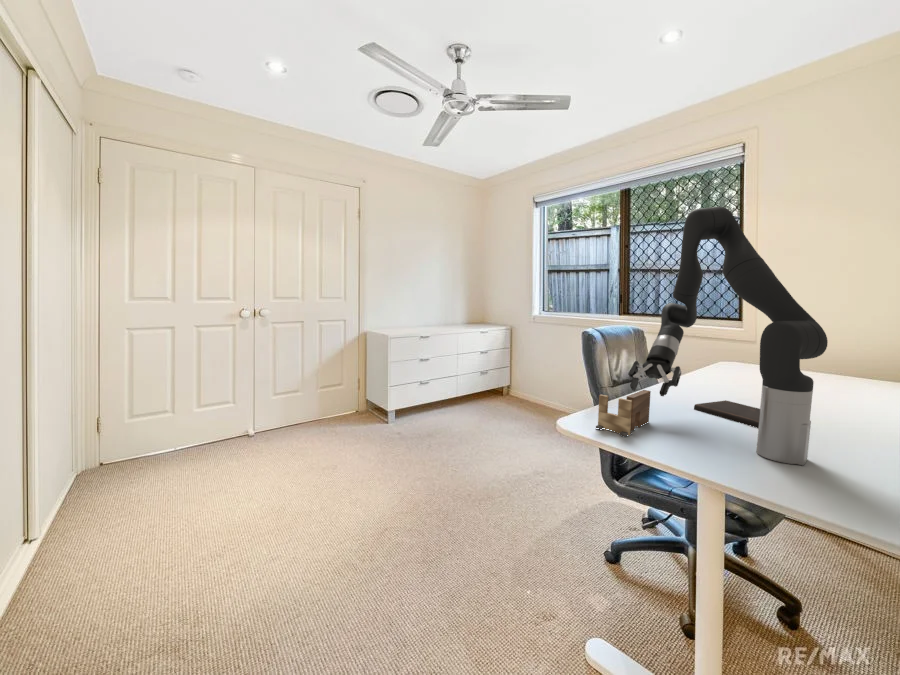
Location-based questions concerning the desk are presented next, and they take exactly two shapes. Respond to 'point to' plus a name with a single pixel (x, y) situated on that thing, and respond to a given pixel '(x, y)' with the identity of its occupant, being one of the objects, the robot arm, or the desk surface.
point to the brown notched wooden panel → (639, 408)
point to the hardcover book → (731, 411)
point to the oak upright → (615, 416)
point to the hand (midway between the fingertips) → (646, 392)
